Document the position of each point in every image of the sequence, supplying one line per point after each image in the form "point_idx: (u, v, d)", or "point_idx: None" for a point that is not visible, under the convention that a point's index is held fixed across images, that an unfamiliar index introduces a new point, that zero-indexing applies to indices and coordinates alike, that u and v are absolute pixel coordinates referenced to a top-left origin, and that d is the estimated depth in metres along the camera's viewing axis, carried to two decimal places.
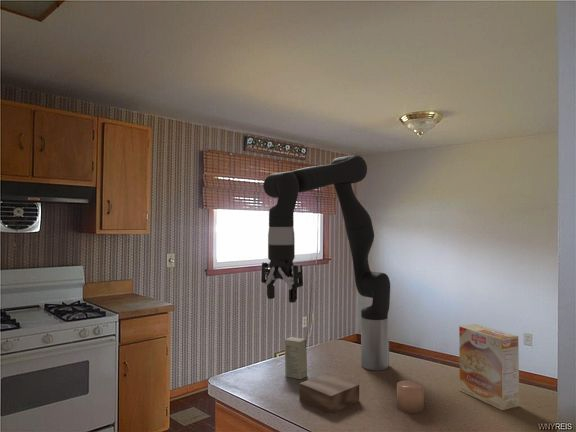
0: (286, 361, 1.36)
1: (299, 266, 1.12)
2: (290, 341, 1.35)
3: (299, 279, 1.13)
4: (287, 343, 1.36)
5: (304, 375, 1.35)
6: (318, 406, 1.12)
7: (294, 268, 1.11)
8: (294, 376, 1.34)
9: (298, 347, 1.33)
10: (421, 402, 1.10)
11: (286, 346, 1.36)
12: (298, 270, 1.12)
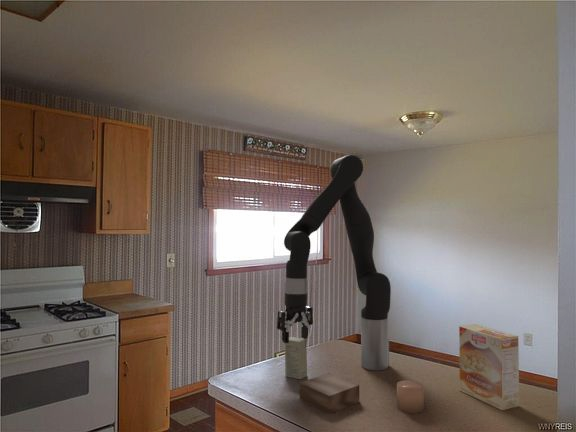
0: (286, 361, 1.36)
1: None
2: (290, 341, 1.35)
3: (307, 318, 1.41)
4: (287, 343, 1.36)
5: (304, 375, 1.35)
6: (317, 406, 1.12)
7: (311, 309, 1.40)
8: (294, 376, 1.34)
9: (298, 347, 1.33)
10: (421, 402, 1.10)
11: (286, 346, 1.36)
12: None
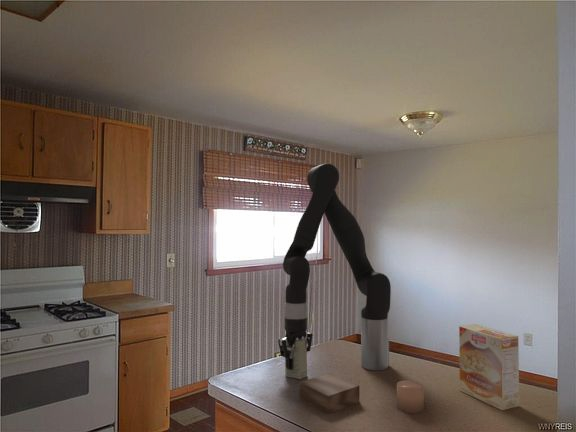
0: None
1: None
2: None
3: None
4: None
5: (304, 375, 1.35)
6: (317, 406, 1.12)
7: (311, 336, 1.40)
8: (294, 376, 1.34)
9: (298, 346, 1.33)
10: (421, 402, 1.10)
11: None
12: None
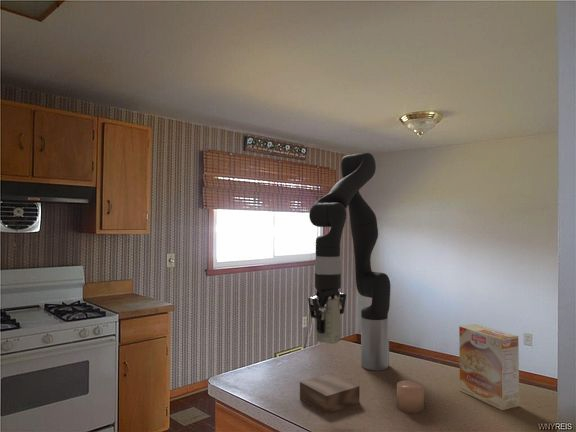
0: (316, 324, 1.18)
1: None
2: None
3: None
4: None
5: (337, 340, 1.17)
6: (315, 405, 1.13)
7: (344, 296, 1.22)
8: (326, 340, 1.16)
9: (330, 306, 1.16)
10: (421, 402, 1.10)
11: None
12: None
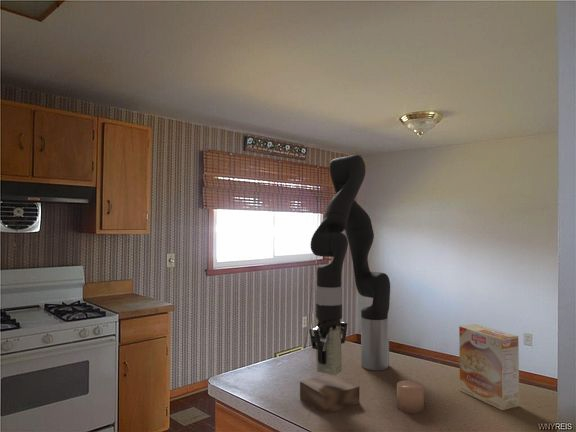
0: None
1: None
2: None
3: None
4: None
5: (339, 370, 1.16)
6: (315, 405, 1.13)
7: (345, 325, 1.21)
8: (327, 371, 1.15)
9: (332, 337, 1.15)
10: (421, 402, 1.10)
11: None
12: None
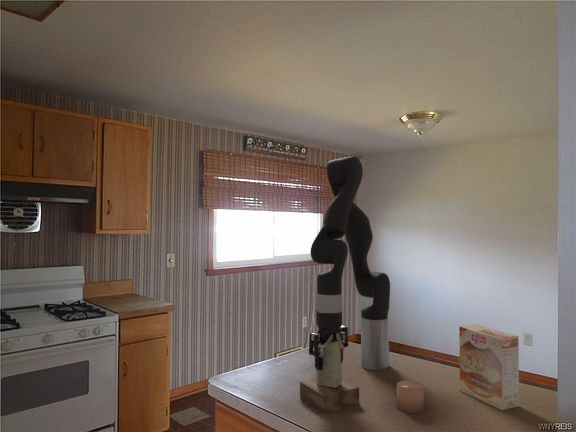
0: None
1: None
2: None
3: (341, 339, 1.22)
4: None
5: (339, 383, 1.16)
6: (314, 405, 1.13)
7: (346, 329, 1.21)
8: (327, 384, 1.15)
9: (331, 350, 1.15)
10: (421, 402, 1.10)
11: None
12: None
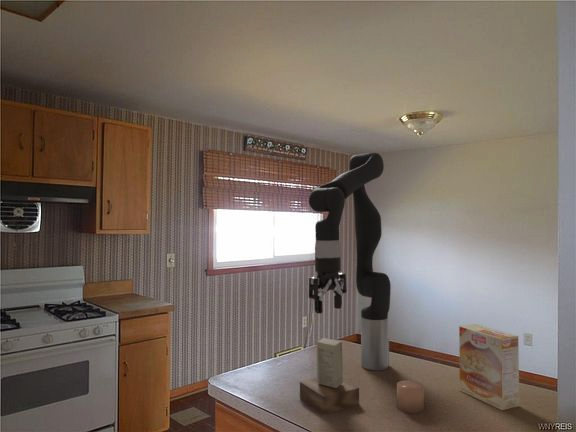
0: (318, 366, 1.17)
1: None
2: (323, 344, 1.16)
3: (339, 286, 1.26)
4: (319, 346, 1.16)
5: (339, 383, 1.16)
6: (314, 406, 1.13)
7: (344, 276, 1.25)
8: (328, 384, 1.15)
9: (332, 351, 1.14)
10: (421, 402, 1.10)
11: (318, 349, 1.17)
12: None
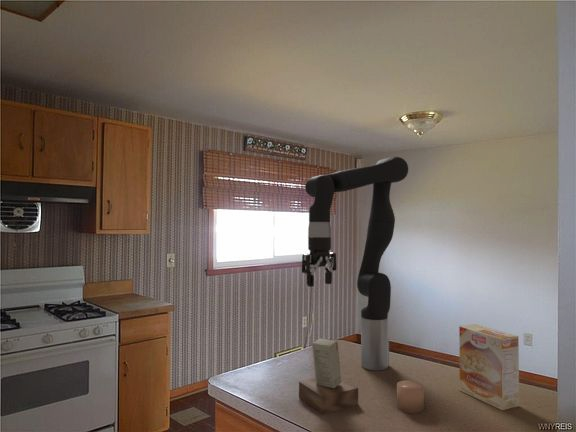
0: (316, 367, 1.17)
1: None
2: (319, 345, 1.15)
3: None
4: (315, 347, 1.16)
5: (338, 383, 1.15)
6: (313, 406, 1.13)
7: (334, 255, 1.39)
8: (326, 384, 1.15)
9: (328, 352, 1.14)
10: (421, 402, 1.10)
11: (314, 351, 1.16)
12: None
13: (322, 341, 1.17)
